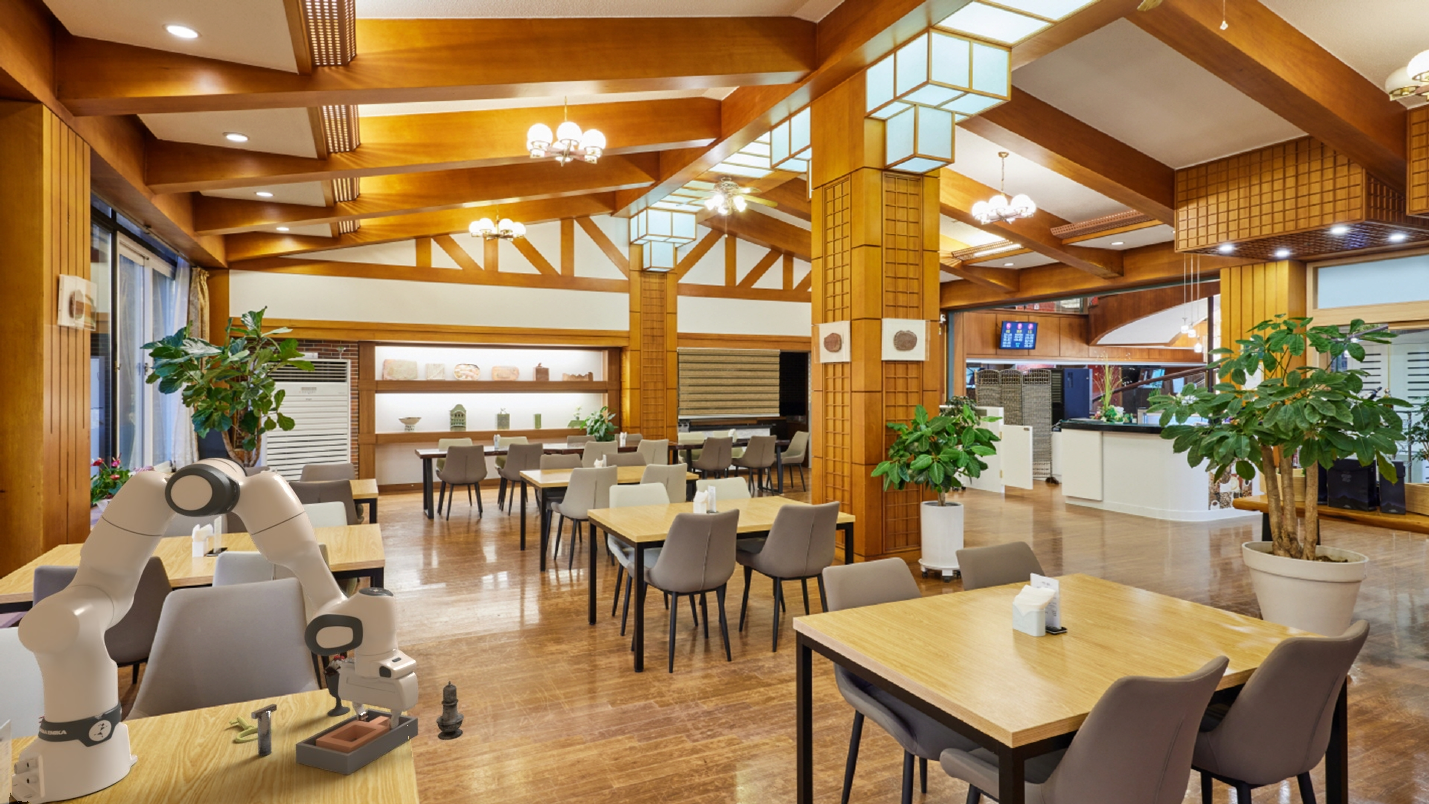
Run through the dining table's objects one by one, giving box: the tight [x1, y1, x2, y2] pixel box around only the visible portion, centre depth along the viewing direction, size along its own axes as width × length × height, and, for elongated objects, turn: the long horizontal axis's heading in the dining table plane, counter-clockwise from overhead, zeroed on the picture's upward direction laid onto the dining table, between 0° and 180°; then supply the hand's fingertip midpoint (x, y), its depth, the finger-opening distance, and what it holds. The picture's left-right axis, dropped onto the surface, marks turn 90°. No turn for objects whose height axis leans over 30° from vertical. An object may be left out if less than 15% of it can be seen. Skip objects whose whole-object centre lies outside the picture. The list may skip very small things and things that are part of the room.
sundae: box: [322, 653, 351, 717], centre depth 176 cm, size 7×7×15 cm
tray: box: [295, 707, 419, 776], centre depth 157 cm, size 15×19×4 cm
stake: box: [250, 703, 278, 757], centre depth 155 cm, size 2×5×10 cm, turn 158°
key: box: [228, 716, 274, 744], centre depth 165 cm, size 7×12×2 cm, turn 69°
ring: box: [316, 716, 390, 754], centre depth 157 cm, size 14×10×3 cm
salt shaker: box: [435, 680, 465, 741], centre depth 163 cm, size 6×6×12 cm
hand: (377, 724), depth 162 cm, fingers open, 8 cm apart
